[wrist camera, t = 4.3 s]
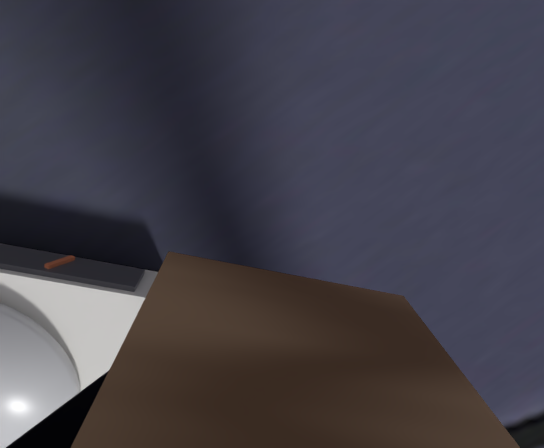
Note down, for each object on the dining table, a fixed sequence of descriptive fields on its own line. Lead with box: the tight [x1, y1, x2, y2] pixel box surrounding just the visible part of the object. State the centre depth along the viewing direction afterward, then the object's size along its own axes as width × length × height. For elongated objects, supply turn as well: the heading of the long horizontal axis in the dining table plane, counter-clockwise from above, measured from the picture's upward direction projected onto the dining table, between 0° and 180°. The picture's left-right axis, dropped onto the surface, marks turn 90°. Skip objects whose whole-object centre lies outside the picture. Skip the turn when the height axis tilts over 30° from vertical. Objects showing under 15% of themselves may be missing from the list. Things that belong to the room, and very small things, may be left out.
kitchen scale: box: [0, 243, 158, 448], centre depth 19 cm, size 13×12×4 cm
